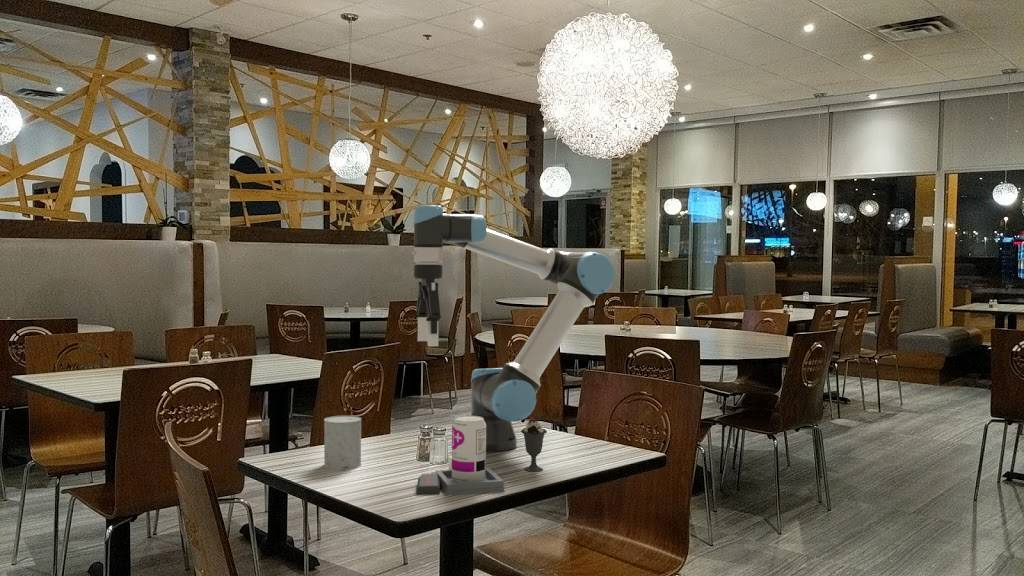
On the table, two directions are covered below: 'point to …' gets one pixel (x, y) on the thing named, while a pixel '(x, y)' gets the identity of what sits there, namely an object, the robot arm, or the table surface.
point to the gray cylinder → (342, 442)
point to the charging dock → (452, 488)
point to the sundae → (533, 442)
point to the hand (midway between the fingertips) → (427, 343)
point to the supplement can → (468, 449)
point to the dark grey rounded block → (428, 484)
